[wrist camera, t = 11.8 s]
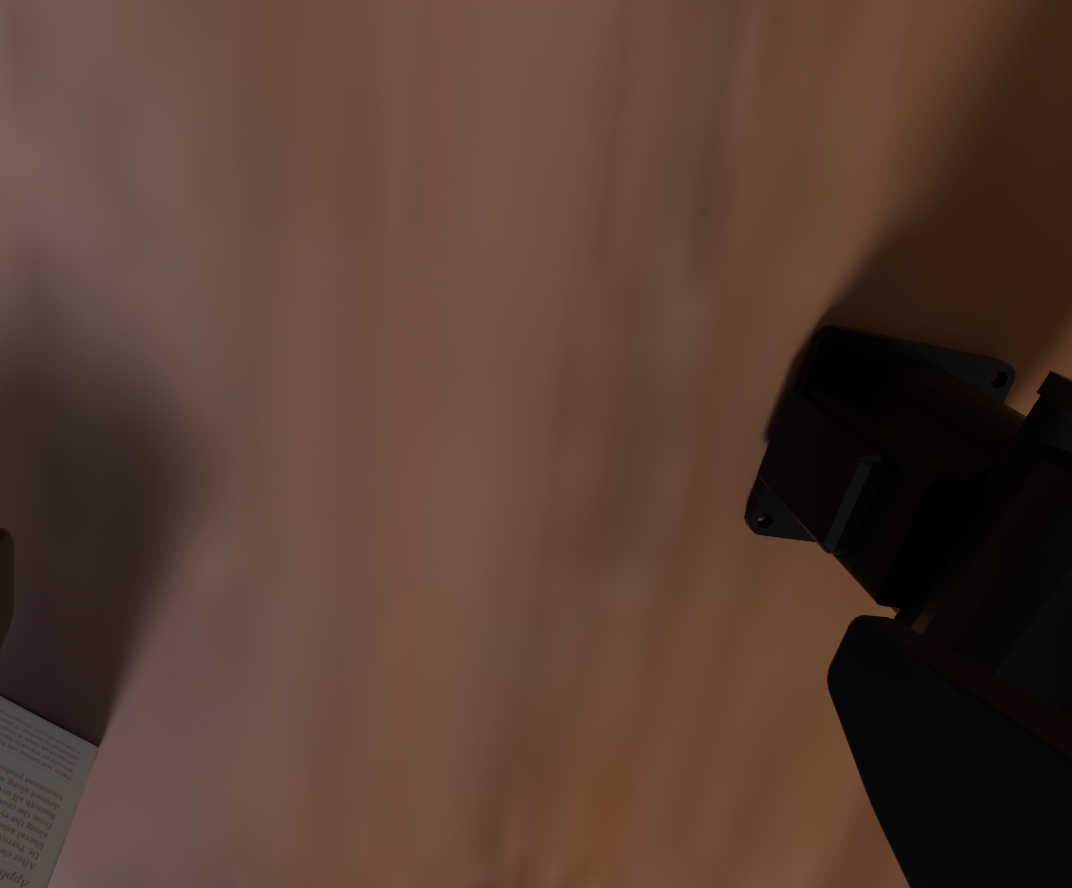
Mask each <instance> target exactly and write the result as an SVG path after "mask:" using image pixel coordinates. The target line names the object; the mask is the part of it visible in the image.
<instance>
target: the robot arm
mask: <svg viewBox="0 0 1072 888" xmlns="http://www.w3.org/2000/svg"><path fill="white" fill-rule="evenodd" d="M835 338H837V344H836V346H835V347H834V348H833V349H832V350H830V351H827V345H828V344H829V342H830V341H831V340H833V339H835ZM997 373H998V376H997V378H996V379H995V380H994V381H992V378H993V377H994V375H995V374H997ZM1014 379H1015V370H1014V369H1013V367H1012V366H1011V365H1009V364H1007V363H1005V362H1003V361H1001V360H999V359H995V358H990V357H985V356H980V355H976V354H971V353H966V352H961V351H957V350H952V349H947V348H942V347H937V346H933V345H928V344H923V343H918V342H913V341H909V340H904V339H899V338H894V337H889V336H885V335H880V334H875V333H870V332H865V331H861V330H856V329H851V328H846V327H841V326H837V325H828V326H826V327H823V328H821V329H820V330H819V331H818V332H817V333H816V334H815V336H814V338H813V340H812V342H811V345H810V347H809V350H808V353H807V355H806V358H805V360H804V363H803V365H802V368H801V370H800V373H799V376H798V378H797V381H796V383H795V386H794V388H793V391H792V394H791V395H790V396H789V397H788V398H787V399H786V401H785V404H784V407H783V409H782V412H781V414H780V417H779V419H778V422H777V425H776V427H775V430H774V432H773V435H772V437H771V440H770V443H769V445H768V448H767V450H766V453H765V455H764V458H763V461H762V463H761V466H760V468H759V471H758V475H759V478H758V481H757V483H756V486H755V488H754V491H753V494H752V496H751V499H750V501H749V504H748V506H747V509H746V512H745V517H744V518H745V522H746V524H747V525H748V526H749V527H750V529H751V530H752V531H753V532H754V533H755V534H758V535H763V536H771V537H779V538H787V539H795V540H803V541H811V542H817V543H818V545H819V546H820V547H821V548H822V549H823V550H824V551H825V552H827V553H829V554H833V556H834V557H835V558H836V559H837V560H838V561H839V562H840V563H841V564H842V566H843V567H844V568H845V569H846V570H847V571H848V572H849V573H850V574H851V575H852V577H853V578H854V579H855V580H856V581H857V582H858V583H859V584H860V585H861V586H862V588H863V589H864V590H865V591H866V592H867V593H868V594H869V595H870V596H871V597H872V599H873V600H874V601H875V602H876V603H877V604H879V605H881V606H887V607H891V608H892V609H893V610H894V611H895V612H896V614H897V615H896V616H895V618H894V619H891V618H888V617H880V616H869V615H861V616H858V617H856V618H855V619H854V620H853V621H852V622H851V623H850V625H849V626H848V628H847V630H846V633H845V635H844V637H843V639H842V641H841V643H840V645H839V647H838V649H837V652H836V654H835V656H834V658H833V660H832V662H831V664H830V667H829V669H828V674H827V684H828V689H829V693H830V695H831V698H832V701H833V703H834V706H835V709H836V712H837V714H838V717H839V720H840V722H841V725H842V728H843V731H844V733H845V736H846V739H847V741H848V744H849V747H850V750H851V752H852V755H853V758H854V760H855V763H856V766H857V769H858V771H859V774H860V777H861V779H862V782H863V785H864V787H865V790H866V793H867V795H868V798H869V800H870V803H871V805H872V808H873V810H874V812H875V814H876V817H877V819H878V821H879V823H880V825H881V828H882V830H883V832H884V834H885V836H886V838H887V840H888V842H889V844H890V847H891V849H892V851H893V853H894V855H895V857H896V859H897V861H898V863H899V866H900V868H901V870H902V872H903V874H904V876H905V878H906V880H907V882H908V884H909V887H910V888H1072V379H1070V378H1067V377H1065V376H1062V375H1060V374H1057V373H1055V372H1053V371H1050V373H1049V374H1048V376H1047V377H1046V379H1045V380H1044V382H1043V383H1042V385H1041V386H1040V388H1039V389H1038V391H1037V393H1038V394H1040V395H1041V396H1040V397H1039V399H1038V400H1037V402H1036V403H1035V405H1034V406H1033V408H1032V409H1031V411H1030V412H1029V414H1028V415H1027V417H1026V416H1024V415H1023V414H1021V413H1019V412H1017V411H1016V410H1014V409H1012V408H1010V407H1009V406H1007V405H1005V404H1003V402H1004V400H1005V398H1006V396H1007V394H1008V392H1009V390H1010V388H1011V386H1012V384H1013V382H1014ZM991 381H992V382H991ZM766 513H768V515H767V517H766V518H765V519H764V520H762V521H758V519H759V518H760V516H762V515H763V514H766ZM13 607H14V547H13V540H12V536H11V534H10V533H9V532H8V531H7V530H6V529H3V528H0V649H1V646H2V644H3V642H4V639H5V637H6V634H7V632H8V629H9V626H10V623H11V619H12V614H13Z"/></svg>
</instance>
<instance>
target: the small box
mask: <svg viewBox="0 0 1072 888" xmlns="http://www.w3.org/2000/svg"><path fill="white" fill-rule="evenodd" d="M97 754H98V748H97V747H96V746H95V745H93V744H91V743H89V742H88V741H86V740H84V739H82V738H80V737H78V736H76V735H74V734H72V733H70V732H68V731H66V730H64V729H62V728H60V727H58V726H56V725H54V724H52V723H50V722H49V721H47V720H45V719H43V718H41V717H39V716H37V715H35V714H33V713H31V712H30V711H28V710H26V709H24V708H22V707H20V706H18V705H16V704H15V703H13V702H11V701H9V700H7V699H5V698H3V697H2V696H0V888H47V886H48V884H49V881H50V878H51V876H52V873H53V871H54V868H55V865H56V863H57V860H58V858H59V855H60V852H61V850H62V847H63V844H64V841H65V839H66V836H67V833H68V831H69V828H70V825H71V822H72V820H73V817H74V814H75V811H76V809H77V806H78V803H79V800H80V798H81V795H82V793H83V790H84V787H85V785H86V782H87V779H88V777H89V774H90V772H91V769H92V767H93V764H94V762H95V759H96V757H97Z"/></svg>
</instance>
